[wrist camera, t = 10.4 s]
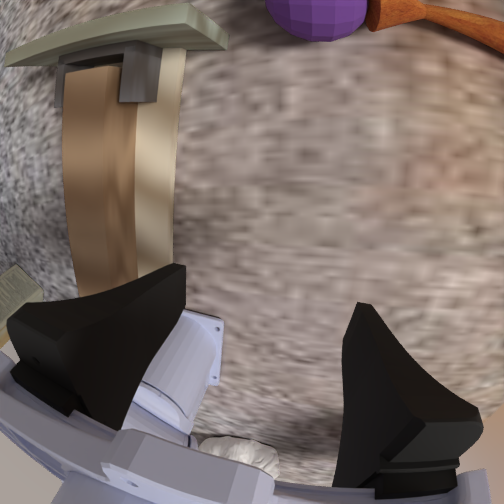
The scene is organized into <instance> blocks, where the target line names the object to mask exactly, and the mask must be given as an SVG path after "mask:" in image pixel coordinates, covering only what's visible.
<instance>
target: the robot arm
mask: <svg viewBox="0 0 504 504" xmlns="http://www.w3.org/2000/svg"><path fill="white" fill-rule="evenodd" d="M185 306H186V266H185V265H180V264H176V263H171V264H169V265H166V266H164V267H162V268H159V269H157V270H155V271H153V272H151V273H149V274H146V275H144V276H142V277H140V278H138V279H135V280H133V281H130V282H128V283H126V284H123V285H121V286H118V287H115V288H113V289H110V290H107V291H103V292H100V293H97V294H93V295H88V296H84V297H79V298H75V299H68V300H61V301H51V302H26V303H25V304H24V305H22V306H21V307H20V308H19V309H18V310H17V311H16V312H15V313H13V314H12V315H11V316H10V317H9V318H8V319H7V322H6V327H7V332H8V334H9V337H10V339H11V341H12V344H13V346H14V348H15V350H16V352H17V354H18V356H19V358H20V361H19V362H18V363H17V364H15V363H14V362H13V360H12V359H11V358H9V357H8V356H7V355H6V354H4V353H3V352H2V351H0V431H1V432H2V433H4V434H5V435H6V436H7V437H8V438H9V439H10V440H11V441H12V442H13V443H15V444H16V445H17V446H18V447H19V448H21V449H22V450H23V451H24V452H25V453H26V454H28V455H29V456H30V457H31V458H33V459H34V460H35V461H36V462H38V463H39V464H40V465H42V466H43V467H44V468H46V469H47V470H49V471H50V472H51V473H52V474H54V475H55V476H56V477H58V478H59V479H61V481H62V486H61V487H60V489H59V491H58V492H57V494H56V496H55V497H54V499H53V501H52V502H51V504H492V503H491V496H490V489H489V484H488V478H487V472H486V469H480V470H474V471H469V472H464V473H461V474H459V475H457V476H456V470H455V469H456V468H458V467H459V465H460V463H459V457H460V456H461V455H462V454H463V453H464V452H466V451H467V450H468V449H469V448H470V447H471V446H472V445H473V444H474V443H475V442H476V441H477V440H478V439H479V438H480V436H481V434H482V432H483V428H484V427H483V423H482V420H481V416H480V413H479V410H478V408H477V407H476V406H474V405H472V404H470V403H469V402H467V401H465V400H463V399H462V398H460V397H458V396H457V395H455V394H454V393H452V392H451V391H450V390H448V389H447V388H445V387H444V386H443V385H441V384H440V383H439V382H438V381H437V380H435V379H434V378H433V377H432V376H431V375H429V374H428V373H427V372H426V371H425V370H424V369H423V368H422V367H421V366H420V365H419V364H418V363H417V362H416V361H415V360H414V359H413V358H412V357H411V356H410V355H409V353H408V352H407V351H406V350H405V349H404V348H403V346H402V345H401V344H400V343H399V341H398V340H397V339H396V338H395V336H394V335H393V334H392V332H391V331H390V330H389V328H388V327H387V325H386V324H385V323H384V321H383V320H382V318H381V317H380V316H379V314H378V313H377V311H376V310H375V309H374V307H373V306H372V305H371V304H366V303H361V302H357V304H356V307H355V310H354V312H353V315H352V317H351V320H350V323H349V325H348V328H347V330H346V333H345V335H344V338H343V345H342V378H343V397H344V414H343V424H342V434H341V441H340V448H339V454H338V460H337V465H336V471H335V475H334V479H333V484H332V487H322V486H313V485H304V484H296V483H289V482H282V481H276V480H274V479H273V477H272V476H271V475H270V474H268V473H267V472H265V471H263V470H262V469H260V468H258V467H255V466H252V465H249V464H246V463H243V462H240V461H236V460H232V459H228V458H224V457H220V456H216V455H213V454H209V453H206V452H202V451H199V450H198V444H197V440H196V438H195V437H194V436H193V435H190V432H191V430H192V427H193V425H194V423H193V420H194V418H195V416H196V413H197V411H198V408H199V406H200V404H201V401H202V399H203V397H204V394H205V392H206V390H207V387H208V385H209V384H210V385H214V386H217V385H218V384H219V381H220V368H221V356H222V344H223V332H224V322H223V320H221V319H219V318H215V317H211V316H207V315H203V314H200V313H196V312H192V311H188V310H185V309H184V308H185ZM217 327H219V328H220V329H218V328H217Z"/></svg>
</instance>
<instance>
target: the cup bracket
mask: <svg viewBox="0 0 504 504" xmlns="http://www.w3.org/2000/svg"><path fill="white" fill-rule="evenodd" d="M228 39H229V34H228V33H226V32H225V31H224V30H223V29H222V28H221V27H219V26H218V25H217V24H216V23H214V22H213V21H212V20H211V19H210V18H208V17H207V16H206V15H204V14H203V13H202V12H201V11H199V10H198V9H197V8H195V7H194V6H193V5H191V4H190V3H180V4H171V5H164V6H157V7H150V8H144V9H139V10H133V11H128V12H123V13H119V14H114V15H110V16H106V17H102V18H98V19H95V20H91V21H88V22H84V23H81V24H78V25H74V26H71V27H68V28H65V29H62V30H60V31H57V32H54V33H51V34H49V35H46V36H44V37H41V38H39V39H36V40H34V41H31V42H29V43H27V44H24V45H22V46H20V47H18V48H16V49H14V50H11V51H9V52H7V53H6V58H5V65H4V67H19V66H58V68H57V77H56V88H55V102H54V108H58V107H63V99H64V86H65V76H66V73H70V72H75V71H80V70H86V69H91V68H97V67H104V66H113V67H120V68H122V76H121V86H120V97H119V102H138V111H137V126H136V145H135V230H136V250H137V266H138V278H140V277H142V276H144V275H146V274H149V273H151V272H153V271H155V270H157V269H159V268H162V267H164V266H166V265H169V264H171V263H173V211H174V183H175V164H176V148H177V134H178V122H179V111H180V101H181V92H182V83H183V75H184V67H185V59H186V52H187V50H227V46H228Z"/></svg>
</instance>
